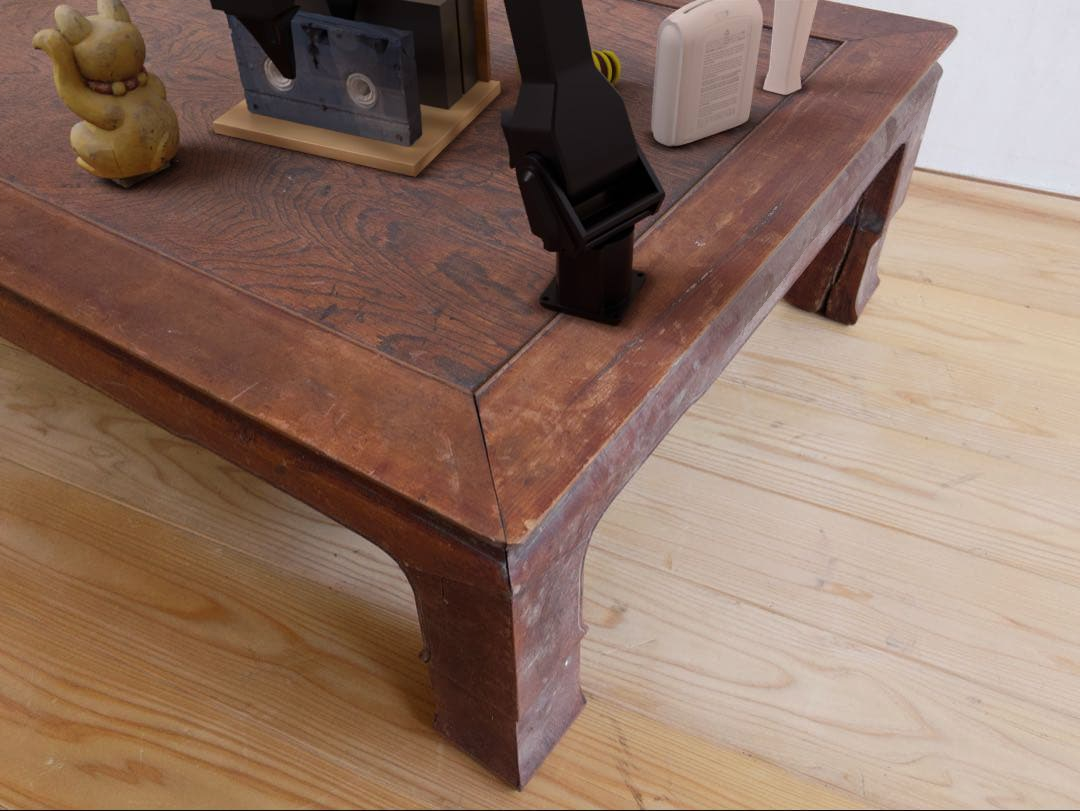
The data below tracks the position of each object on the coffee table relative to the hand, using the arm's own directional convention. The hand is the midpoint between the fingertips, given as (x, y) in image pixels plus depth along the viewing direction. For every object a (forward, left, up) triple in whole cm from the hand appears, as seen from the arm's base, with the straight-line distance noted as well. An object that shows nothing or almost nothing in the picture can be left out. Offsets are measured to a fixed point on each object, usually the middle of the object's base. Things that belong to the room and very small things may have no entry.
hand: (319, 57), depth 88 cm
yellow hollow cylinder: (+18, -17, -8) cm, 26 cm away
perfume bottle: (+26, -37, -8) cm, 46 cm away
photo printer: (+14, -32, -8) cm, 36 cm away
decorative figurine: (-12, +13, -8) cm, 19 cm away
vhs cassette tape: (0, 0, -7) cm, 7 cm away
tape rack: (+5, 0, -8) cm, 9 cm away
